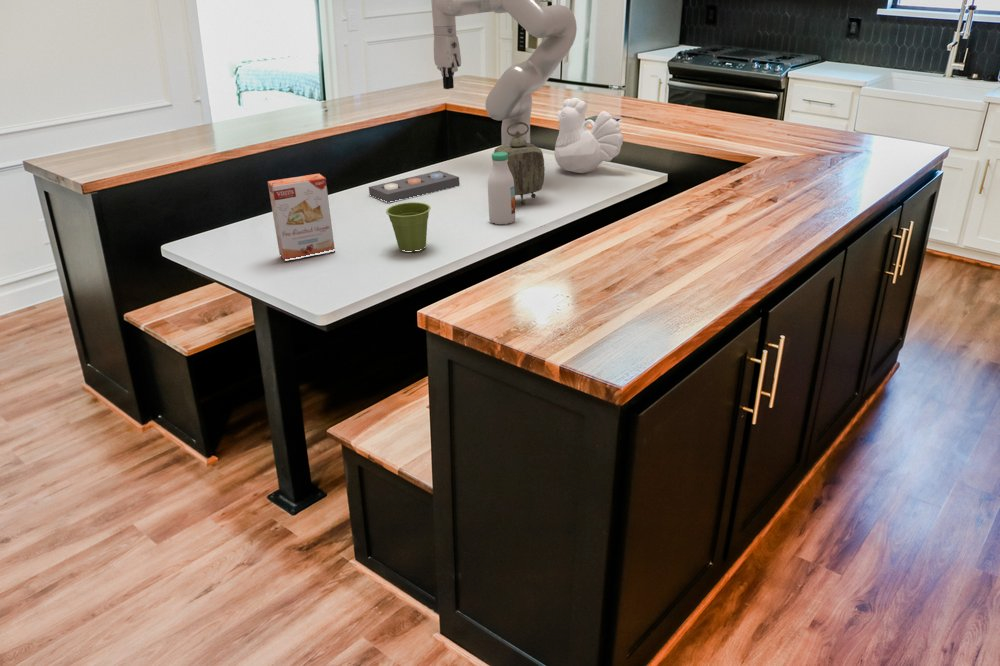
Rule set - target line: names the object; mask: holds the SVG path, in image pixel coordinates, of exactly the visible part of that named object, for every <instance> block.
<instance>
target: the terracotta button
mask: <svg viewBox="0 0 1000 666" xmlns="http://www.w3.org/2000/svg"><path fill="white" fill-rule="evenodd" d="M418 183H421V179H420V178H411V179H408V184H411V185H414V184H418Z"/></svg>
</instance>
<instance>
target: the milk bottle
mask: <svg viewBox="0 0 1000 666" xmlns="http://www.w3.org/2000/svg"><path fill="white" fill-rule="evenodd" d="M507 161H508V153H506V152H496V153H494V152H493V153H491V162H492V168H491V170H490V173H489V175H488V176H489V177H488V180H487V197H488V200H487V202H488V213H489V214H488V219H489V222H490V223H491V224H493V223H495V224H494V225H497V224H505V225H509V224H508V223H510V224H513V223H515V221H516V195H515V189H514V180H513V176H512V174H511V172H510V170H509V167H508V164H507ZM512 222H513V223H512Z"/></svg>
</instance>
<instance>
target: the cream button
mask: <svg viewBox="0 0 1000 666" xmlns="http://www.w3.org/2000/svg"><path fill="white" fill-rule="evenodd" d="M397 188H398V184H395V183H390V184H386V185H384V189H386V190H393V189H397Z"/></svg>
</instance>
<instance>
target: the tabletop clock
mask: <svg viewBox="0 0 1000 666" xmlns="http://www.w3.org/2000/svg"><path fill="white" fill-rule="evenodd" d="M516 124H523V125H525V126H527V131H526V132H524V133H521V134H520V132H519V131H517V132H516V134H511V133H509V132H508V129H509V128H510V127H511V126H513V125H516ZM528 130H529V127H528V125H527V124H526V123H524V122H515V123H512V124H510V125H509V126H508V128H507V133H508V134H509V135H510V136H515V138H513V139H512V140H511V142H510V144H506V145H502V144H501V145H500V146H497V147H495V148H494V151H493V153H496V152H506V153H508V161H507V164H508V167H509V170H510V172H511V174H512V176H513V180H514V189H515V196H520V200H519V204H520V205H521V206H524V205H525V204H526V200H524V195H528V194H531V195H530V197H531V199H535V198H536V197H537V195H536V192H539V191H541V190H542V189H543V186H544V182H545V169H546V168H545V158H544V153H543V150H542V148H539V147H538V146H536V145H535V144H532V143H531V142H530V143H526V140H525V139H524V138H522V137H520V136H522V135H524V134H526V133H527V132H528Z"/></svg>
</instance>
